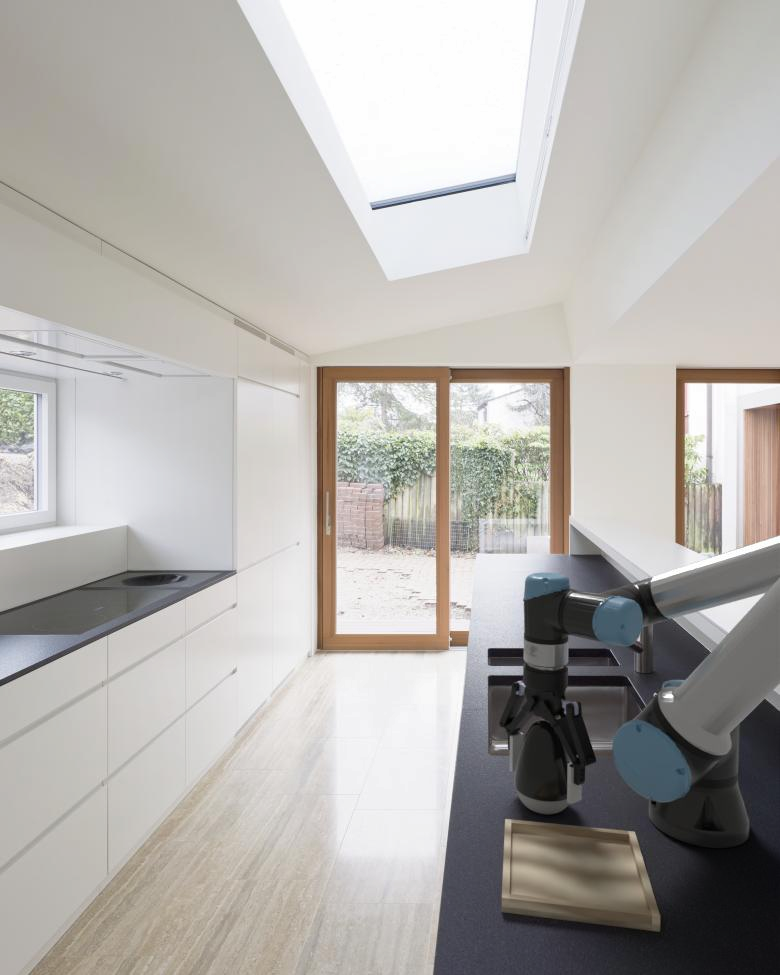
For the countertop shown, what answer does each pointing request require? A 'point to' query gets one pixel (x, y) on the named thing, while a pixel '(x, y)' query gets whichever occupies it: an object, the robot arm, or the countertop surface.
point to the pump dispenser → (542, 770)
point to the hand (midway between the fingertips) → (543, 785)
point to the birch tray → (577, 875)
